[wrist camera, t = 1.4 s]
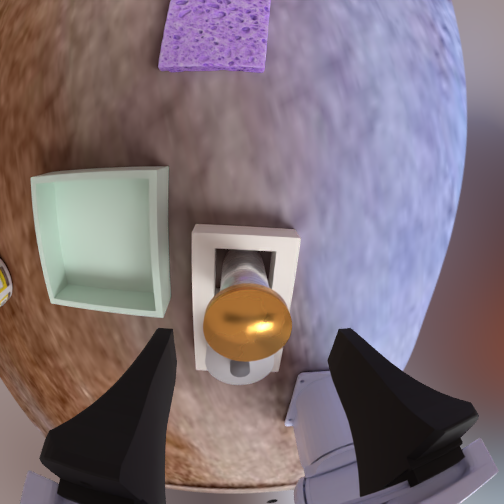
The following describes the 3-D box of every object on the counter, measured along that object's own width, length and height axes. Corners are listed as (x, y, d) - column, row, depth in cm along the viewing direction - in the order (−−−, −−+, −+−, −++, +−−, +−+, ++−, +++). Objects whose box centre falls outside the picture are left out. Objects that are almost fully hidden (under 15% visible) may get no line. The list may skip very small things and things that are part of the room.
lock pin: (269, 292, 22) (285, 361, 14) (212, 290, 21) (204, 360, 14) (275, 238, 20) (298, 292, 13) (213, 235, 20) (202, 289, 12)
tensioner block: (275, 356, 24) (282, 396, 20) (198, 354, 24) (193, 394, 19) (294, 229, 20) (311, 254, 15) (195, 223, 19) (184, 247, 15)
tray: (171, 296, 21) (163, 317, 18) (67, 286, 20) (51, 303, 18) (168, 166, 18) (157, 170, 15) (53, 171, 17) (30, 177, 14)
